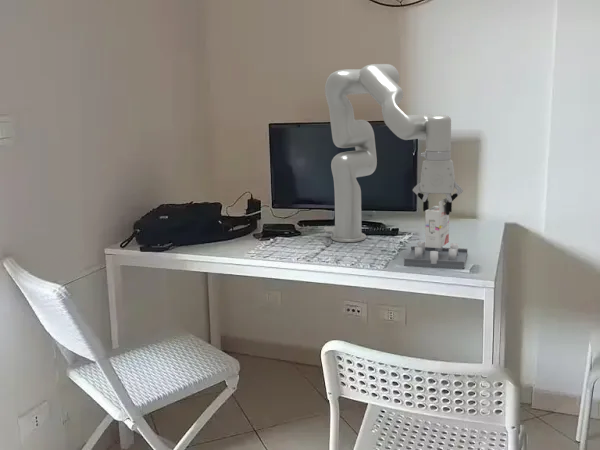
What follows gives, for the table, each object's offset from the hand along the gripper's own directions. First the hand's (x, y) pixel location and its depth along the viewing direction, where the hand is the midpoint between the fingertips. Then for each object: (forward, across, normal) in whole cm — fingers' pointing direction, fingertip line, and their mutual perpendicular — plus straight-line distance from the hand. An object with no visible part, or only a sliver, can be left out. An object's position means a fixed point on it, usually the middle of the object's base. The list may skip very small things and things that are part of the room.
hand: (437, 213), depth 206 cm
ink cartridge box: (+10, 0, 0) cm, 10 cm away
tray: (+15, 0, 0) cm, 15 cm away
